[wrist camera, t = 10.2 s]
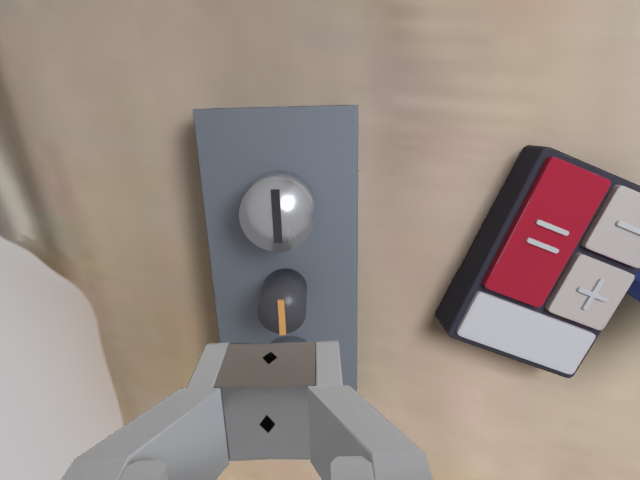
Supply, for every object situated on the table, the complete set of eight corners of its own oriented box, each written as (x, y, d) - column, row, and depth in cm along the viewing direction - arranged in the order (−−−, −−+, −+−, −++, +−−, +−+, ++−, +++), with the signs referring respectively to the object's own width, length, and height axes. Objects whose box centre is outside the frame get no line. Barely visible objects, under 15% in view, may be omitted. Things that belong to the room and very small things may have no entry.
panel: (209, 108, 29) (192, 109, 25) (352, 104, 29) (358, 105, 25) (238, 394, 36) (229, 428, 32) (352, 391, 36) (356, 425, 32)
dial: (262, 268, 28) (255, 292, 25) (306, 267, 28) (305, 290, 25) (265, 308, 29) (258, 335, 26) (307, 307, 29) (306, 334, 26)
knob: (253, 162, 30) (235, 180, 23) (314, 161, 30) (313, 178, 23) (257, 221, 31) (241, 253, 24) (315, 219, 31) (315, 251, 24)
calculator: (692, 205, 28) (578, 386, 31) (642, 195, 32) (546, 355, 36) (551, 145, 26) (449, 341, 30) (518, 142, 31) (432, 315, 34)
